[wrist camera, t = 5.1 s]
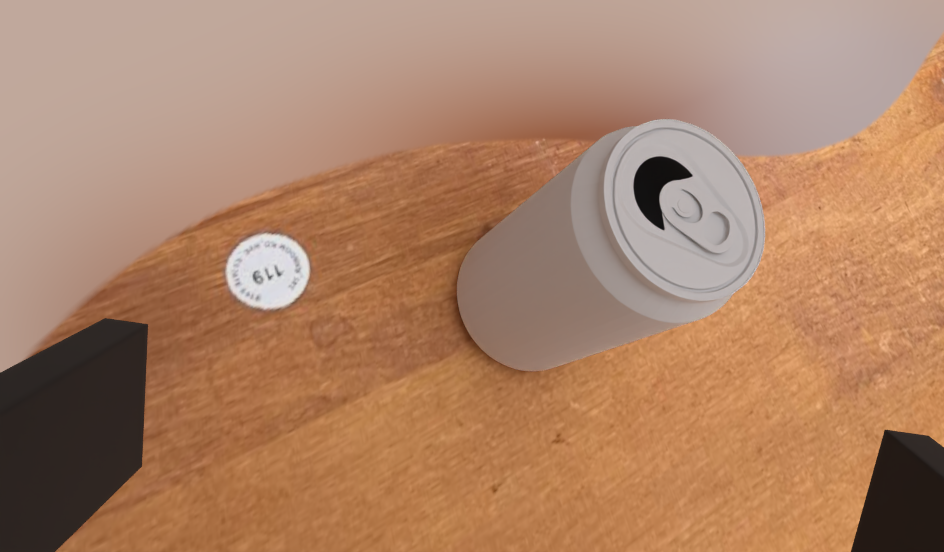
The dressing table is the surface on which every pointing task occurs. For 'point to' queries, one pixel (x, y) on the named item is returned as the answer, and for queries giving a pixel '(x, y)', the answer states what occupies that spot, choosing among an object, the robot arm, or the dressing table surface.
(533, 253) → the beverage can
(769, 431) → the dressing table surface
